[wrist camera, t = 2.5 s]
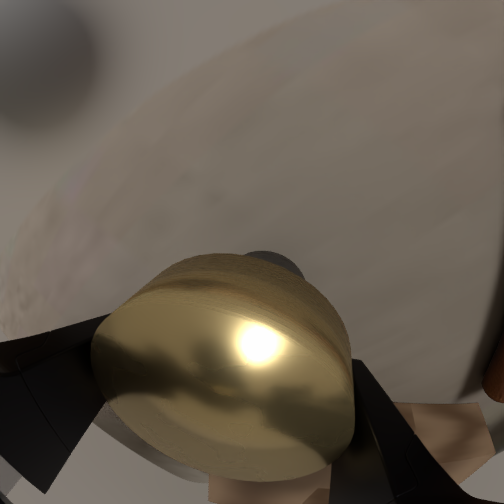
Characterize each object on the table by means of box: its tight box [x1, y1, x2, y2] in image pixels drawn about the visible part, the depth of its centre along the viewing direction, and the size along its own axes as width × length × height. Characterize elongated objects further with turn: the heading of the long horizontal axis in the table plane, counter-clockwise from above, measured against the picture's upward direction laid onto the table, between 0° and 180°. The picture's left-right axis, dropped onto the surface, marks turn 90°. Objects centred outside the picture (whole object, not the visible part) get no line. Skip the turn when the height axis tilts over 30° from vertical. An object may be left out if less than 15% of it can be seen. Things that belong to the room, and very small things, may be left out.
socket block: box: [209, 402, 496, 504], centre depth 14 cm, size 18×12×5 cm, turn 83°
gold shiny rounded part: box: [90, 251, 355, 482], centre depth 9 cm, size 7×7×7 cm
